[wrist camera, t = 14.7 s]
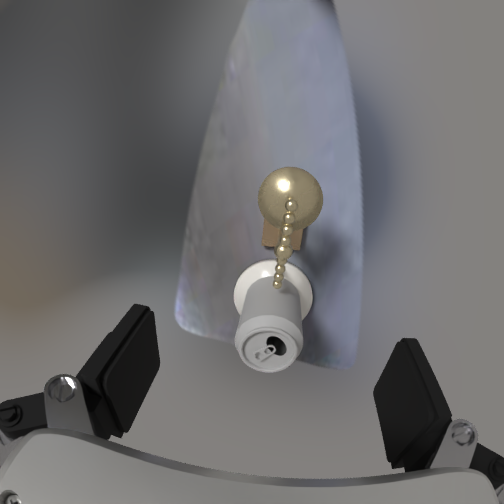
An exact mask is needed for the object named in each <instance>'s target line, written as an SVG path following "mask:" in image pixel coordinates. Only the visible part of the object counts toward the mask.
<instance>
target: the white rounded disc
mask: <svg viewBox="0 0 504 504" xmlns="http://www.w3.org/2000/svg"><path fill="white" fill-rule="evenodd" d="M276 265H277V261H276V259H266V260H262V261H258V262H256V263H254V264H252V265H250V266H249V267H248V268H246V269H245V270H244V271H243V272H242V274H241V275H240V277H239V279H238V281H237V283H236V286H235V290H234V302H235V306H236V308H237V311H238V312H239V314H240V315H241V312H242V309H243V305H244V301H245V297H246V293H247V290H248V289H249V287H250V286H251V284H252V283H254V282H255V281H257V280H258V279H260V278H263V277H267V276H274V274H275V273H276V271H275V266H276ZM285 268H286V269H285V272H284V273H283V275H284V278H285V279H286V280H288V281H290V282H291V283H292V284H293V285H294V286H295V287H296V288H297V290H298V293H299V295H300V303H301V316H302V320H303V319H304V318H305V317H306V315H307V314H308V312H309V310H310V308H311V305H312V300H313V295H312V288H311V284H310V281H309V279H308V277H307V276H306V274H305V273H304V272H303V271H302V270H301V269H300V268H299V267H297V266H296V265H294V264H292V263H290V262H288V261H287V263H286V264H285Z"/></svg>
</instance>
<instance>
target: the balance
mask: <svg viewBox="0 0 504 504" xmlns="http://www.w3.org/2000/svg"><path fill="white" fill-rule="evenodd" d="M258 204H259V208H260V211H261V213H262V215H263V216H264V218H265V219H264V228H263V237H262V246H270V247H275V248H274V253H275V255H276V257H277V259H276V261H277V265H276V266H275V271H276V273H275V274H274V279H275V280H274V281H273V283H272V285H273V287H274V288H275V289H280V288H281V287H282V280H283V278H284V275H283V273H284V272H285V269H286V268H285V264H286V263H287V259H289V258H290V257H291V256H292V253H293V250H300V245H301V239H302V233H303V228H305V227H307V226H309V225H310V224H312V223H313V222H314V221H315V220H316V218H317V217H318V216H319V214H320V212H321V209H322V205H323V194H322V190H321V187H320V185H319V183H318V182H317V180H316V179H315V178H314V177H313V176H312V175H311V174H310V173H308V172H307V171H305V170H303V169H300V168H297V167H284V168H280V169H277V170H275V171H273V172H272V173H270V174H269V175H268V176H267V177H266V178H265V180H264V181H263V183H262V185H261V187H260V190H259V194H258Z"/></svg>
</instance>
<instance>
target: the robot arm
mask: <svg viewBox="0 0 504 504" xmlns="http://www.w3.org/2000/svg"><path fill="white" fill-rule="evenodd" d="M159 367H160V357H159V350H158V343H157V335H156V326H155V317H154V312H153V311H150V308H149V307H148V306H143V305H139V304H134V305H133V306H132V307H131V308H130V310H129V311H128V312H127V313H126V315H125V316H124V317H123V318H122V320H121V321H120V322H119V324H118V325H117V326H116V327H115V329H114V330H113V331H112V332H110V333H109V334H108V335H107V336H106V337H105V338H104V340H103V341H102V342H101V344H100V345H99V346H98V348H97V349H96V350H95V351H94V353H93V354H92V355H91V357H90V358H89V359H88V361H87V362H86V363H85V365H84V366H83V368H82V369H81V370H80V371H79V373H78V374H77V376H76V377H74V376H72V375H69V374H59V375H56V376H54V377H52V378H50V379H49V380H48V381H47V382H46V384H45V387H44V392H42V393H38V394H34V395H29V396H25V397H20V398H16V399H11V400H7V401H4V402H2V403H1V404H0V504H504V458H503V457H502V456H500V455H498V454H496V453H495V452H493V451H491V450H489V449H488V448H486V447H484V446H483V445H481V444H479V443H477V441H478V433H477V430H476V428H475V427H474V426H473V425H472V423H470V422H469V421H467V420H463V419H457V420H454V421H453V422H452V419H451V416H452V414H451V411H450V409H449V407H448V404H447V402H446V400H445V397H444V395H443V393H442V390H441V388H440V386H439V384H438V381H437V379H436V377H435V375H434V373H433V371H432V368H431V366H430V365H429V363H428V360H427V358H426V356H425V354H424V352H423V350H422V348H421V346H420V344H419V342H418V340H417V339H415V338H403V339H401V341H400V342H397V344H396V345H395V348H394V350H393V352H392V354H391V356H390V358H389V360H388V362H387V364H386V366H385V369H384V370H383V372H382V374H381V376H380V378H379V380H378V382H377V384H376V386H375V388H374V391H373V395H374V400H375V404H376V408H377V413H378V417H379V421H380V426H381V431H382V436H383V440H384V445H385V450H386V456H387V460H388V462H391V466H392V469H396V468H402V467H404V469H405V473H398V474H390V475H381V476H371V477H361V478H343V479H298V478H279V477H266V476H257V475H247V474H241V473H234V472H227V471H221V470H215V469H210V468H204V467H199V466H195V465H190V464H186V463H182V462H178V461H174V460H170V459H166V458H163V457H159V456H156V455H152V454H149V453H145V452H141V451H139V450H135V449H132V448H129V447H126V446H123V445H120V444H117V443H114V442H112V441H108V439H109V438H110V436H111V435H113V436H116V437H119V438H121V437H122V435H123V433H124V432H125V433H127V432H128V431H129V430H130V428H131V426H132V423H133V421H134V419H135V417H136V415H137V413H138V411H139V409H140V407H141V405H142V402H143V400H144V398H145V396H146V394H147V392H148V390H149V388H150V386H151V384H152V382H153V380H154V378H155V376H156V374H157V372H158V370H159Z"/></svg>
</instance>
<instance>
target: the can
mask: <svg viewBox="0 0 504 504" xmlns="http://www.w3.org/2000/svg"><path fill="white" fill-rule="evenodd" d="M274 280H275V279H274V276H267V277H263V278H260V279H258V280H257V281H255V282H254V283H252V284H251V286H250V287H249V289H248V290H247V293H246V297H245V301H244V305H243V309H242V312H241V316H240V320H239V324H238V328H237V332H236V336H235V346H236V349H237V351H238V352H239V355H240V357H241V359H242V360H243V362H244V363H245V364H247V365H248V366H249V367H250V368H252V369H254V370H257V371H261V372H277V371H282V370H284V369H286V368H287V367H289V366H290V365H291V364H292V363H293V362H294V361H295V359H296V358H297V357H298V356H299V354H300V352H301V350H302V348H303V330H302V316H301V303H300V295H299V293H298V290H297V288H296V287H295V286H294V285H293V284H292V283H291V282H290V281H288V280H286V279H285V278H283V280H282V287H281V288H280V289H275V288H274V287H273V285H272V283H273V281H274Z"/></svg>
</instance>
